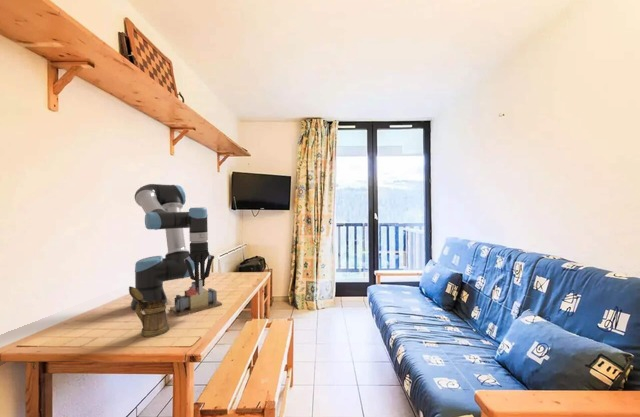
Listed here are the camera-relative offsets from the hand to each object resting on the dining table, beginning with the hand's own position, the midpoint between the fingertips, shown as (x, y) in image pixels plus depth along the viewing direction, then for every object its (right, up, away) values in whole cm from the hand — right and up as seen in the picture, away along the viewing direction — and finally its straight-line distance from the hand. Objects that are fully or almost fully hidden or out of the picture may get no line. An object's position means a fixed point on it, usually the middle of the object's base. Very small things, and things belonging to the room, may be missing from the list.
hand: (200, 294), depth 124 cm
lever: (-4, +1, +2) cm, 5 cm away
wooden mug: (-12, -9, -18) cm, 23 cm away
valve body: (-5, -9, +8) cm, 13 cm away
